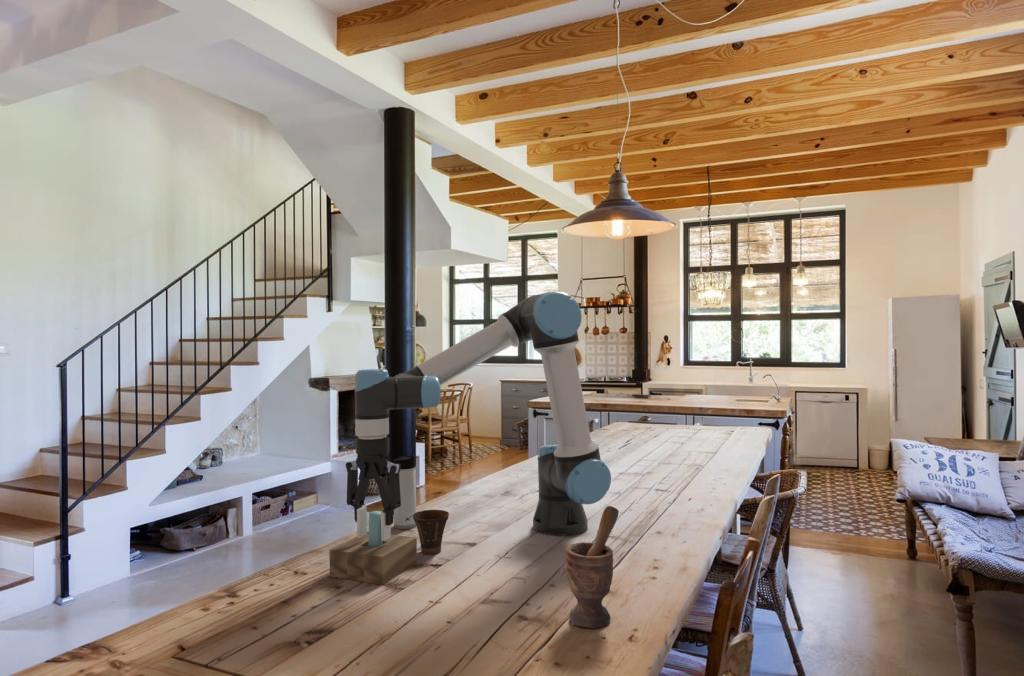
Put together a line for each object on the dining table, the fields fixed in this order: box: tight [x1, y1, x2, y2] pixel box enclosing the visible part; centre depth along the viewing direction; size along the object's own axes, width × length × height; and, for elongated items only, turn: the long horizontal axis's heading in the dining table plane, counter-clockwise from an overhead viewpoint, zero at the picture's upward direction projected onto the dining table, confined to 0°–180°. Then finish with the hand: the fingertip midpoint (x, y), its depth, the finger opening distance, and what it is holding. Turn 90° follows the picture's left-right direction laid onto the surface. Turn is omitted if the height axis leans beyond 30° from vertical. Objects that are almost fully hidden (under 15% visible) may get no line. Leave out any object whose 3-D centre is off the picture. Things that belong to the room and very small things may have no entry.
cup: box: [413, 509, 450, 555], centre depth 156 cm, size 9×9×10 cm
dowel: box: [368, 510, 383, 548], centre depth 143 cm, size 3×3×12 cm
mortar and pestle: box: [565, 505, 619, 629], centre depth 117 cm, size 12×9×20 cm
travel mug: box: [392, 454, 418, 530], centre depth 177 cm, size 6×7×20 cm
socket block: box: [328, 531, 418, 586], centre depth 143 cm, size 14×14×6 cm
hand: (374, 537), depth 143 cm, fingers open, 6 cm apart
